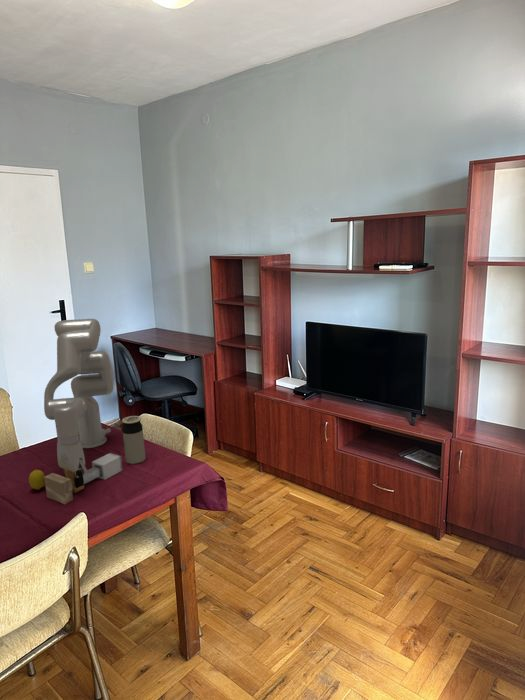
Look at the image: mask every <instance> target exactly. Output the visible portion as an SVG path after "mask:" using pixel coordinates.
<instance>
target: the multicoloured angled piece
mask: <svg viewBox="0 0 525 700" xmlns="http://www.w3.org/2000/svg"><path fill="white" fill-rule="evenodd" d="M77 472H78V473H79V472H80V470H78V471H77ZM64 475H65V476H64V477H66V478H68V479H70V480H71V487H72V493H73V494H76V493H78V492H80V491H82V490H83V489H85V484H88V483H89V482H91V481H93V480H95V479H98V477H99V476H101V475H102V468H101V467H100V466H95V467H93V468H92V467H91V468H89V469H87V471H86V472H85V473H84V475H83V480H84V485H83V486H81V487H79V488H76V485H75V478H76V477H75V473H74V472H72V471H69V470H66V469H65V474H64Z"/></svg>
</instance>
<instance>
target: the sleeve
mask: <svg viewBox="0 0 525 700" xmlns="http://www.w3.org/2000/svg"><path fill="white" fill-rule="evenodd" d="M91 466H92V467H91V468H93V467H95V466H100V467H101V468H102V475H101V476H99V477H97V479H101V480H104V481H106V480H107V479H109V478H111V477H112V476H114V475H116V474H119V473H120V472H122V471H123V470H124V469H123V468H124V467H123V461H122V456H121V455H119V454H115V453H112V452H109V453H106V454H105V455H103V456H101V457H98V458H97V459H94V460H93V461H91Z"/></svg>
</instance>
